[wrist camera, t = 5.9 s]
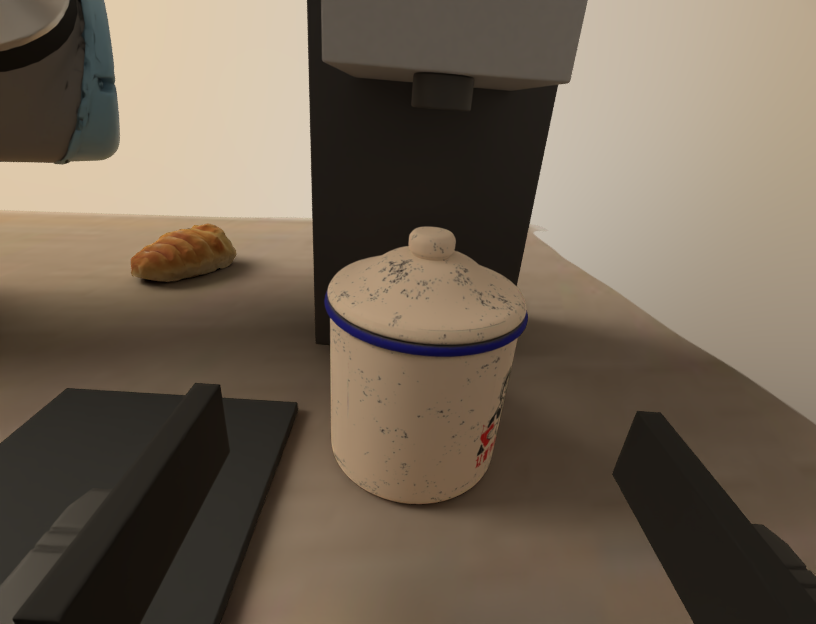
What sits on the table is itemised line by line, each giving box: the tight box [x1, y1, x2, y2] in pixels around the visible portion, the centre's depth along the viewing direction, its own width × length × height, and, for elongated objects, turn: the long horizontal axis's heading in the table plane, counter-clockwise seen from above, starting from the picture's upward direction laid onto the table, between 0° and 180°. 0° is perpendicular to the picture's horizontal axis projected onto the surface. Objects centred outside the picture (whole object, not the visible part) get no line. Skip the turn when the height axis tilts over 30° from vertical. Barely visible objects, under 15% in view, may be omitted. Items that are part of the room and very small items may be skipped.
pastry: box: [131, 224, 236, 283], centre depth 41 cm, size 9×7×4 cm
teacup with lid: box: [324, 227, 528, 504], centre depth 22 cm, size 12×9×12 cm
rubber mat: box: [0, 388, 298, 624], centre depth 18 cm, size 13×13×1 cm
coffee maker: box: [307, 0, 588, 344], centre depth 24 cm, size 18×14×30 cm
